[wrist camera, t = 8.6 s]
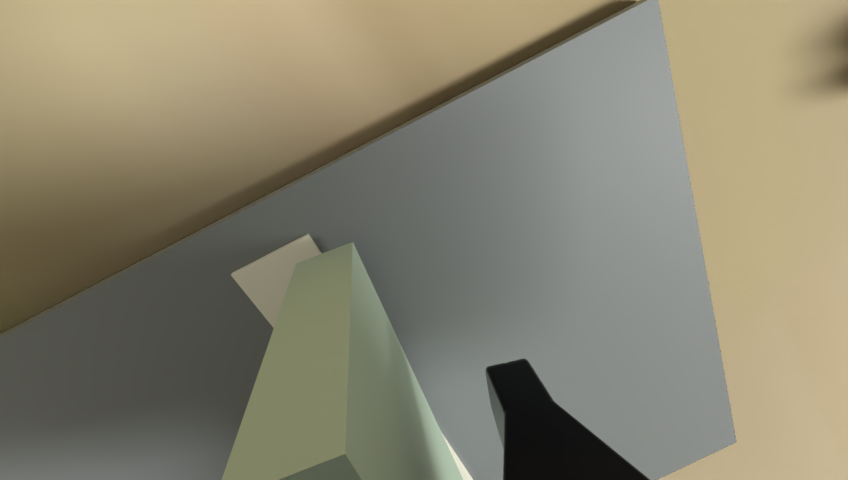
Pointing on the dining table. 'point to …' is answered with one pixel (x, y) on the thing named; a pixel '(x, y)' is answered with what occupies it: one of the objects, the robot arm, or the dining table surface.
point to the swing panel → (337, 389)
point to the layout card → (419, 283)
